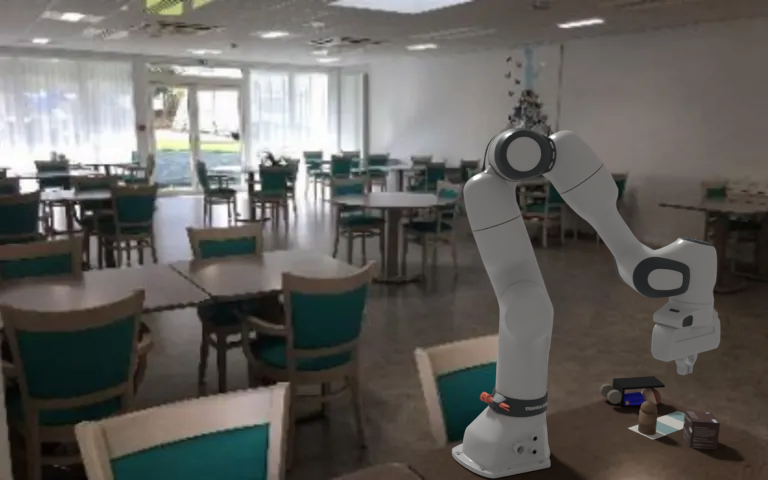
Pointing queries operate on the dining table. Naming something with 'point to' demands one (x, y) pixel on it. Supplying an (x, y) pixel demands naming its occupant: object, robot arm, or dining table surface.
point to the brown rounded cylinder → (647, 418)
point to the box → (701, 429)
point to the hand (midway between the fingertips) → (684, 373)
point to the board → (665, 425)
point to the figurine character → (621, 384)
